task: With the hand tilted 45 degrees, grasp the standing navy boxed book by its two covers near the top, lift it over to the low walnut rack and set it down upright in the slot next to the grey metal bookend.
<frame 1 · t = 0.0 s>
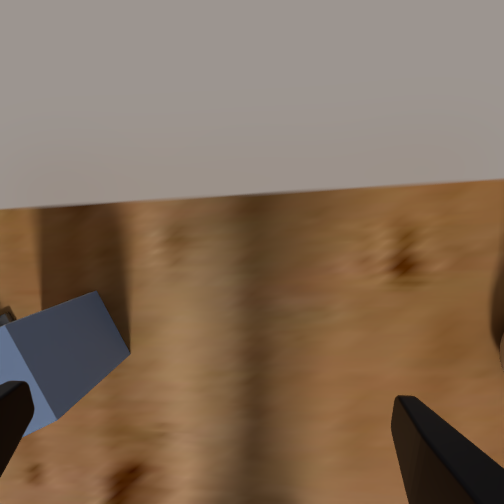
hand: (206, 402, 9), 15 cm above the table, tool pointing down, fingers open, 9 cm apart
book: (86, 336, 25), on the table
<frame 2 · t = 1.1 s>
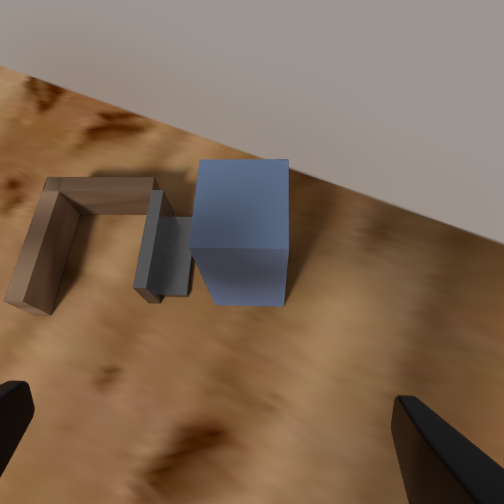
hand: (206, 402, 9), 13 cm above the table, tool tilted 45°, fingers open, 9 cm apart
bookend: (162, 255, 26), on the table
rack: (112, 255, 26), on the table
book: (251, 270, 25), on the table
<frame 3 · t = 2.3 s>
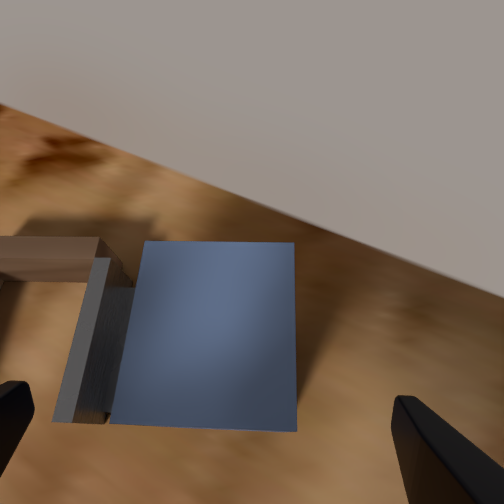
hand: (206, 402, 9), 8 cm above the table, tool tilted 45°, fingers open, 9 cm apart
bookend: (112, 346, 18), on the table
rack: (41, 344, 18), on the table
book: (237, 371, 17), on the table
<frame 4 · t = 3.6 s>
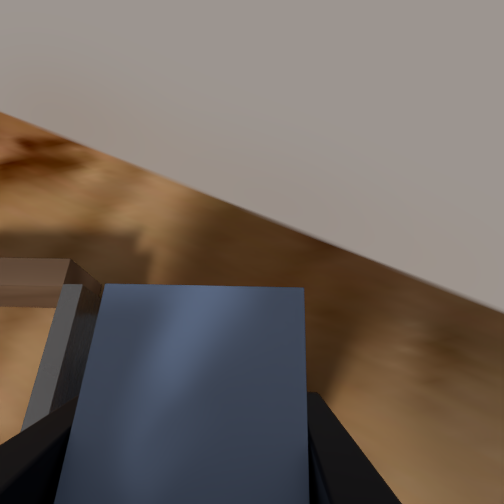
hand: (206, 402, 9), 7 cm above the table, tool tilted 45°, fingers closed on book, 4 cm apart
bookend: (86, 385, 15), on the table
rack: (5, 382, 16), on the table
book: (232, 417, 15), on the table, touching gripper
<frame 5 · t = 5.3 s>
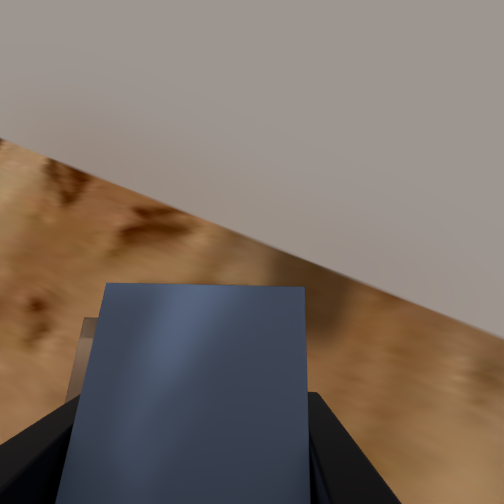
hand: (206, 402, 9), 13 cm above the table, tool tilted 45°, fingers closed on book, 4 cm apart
rack: (164, 408, 21), on the table
book: (233, 417, 15), point 7 cm above the table, touching gripper
when the fingers open (8 cm above the table, at t = 7.2 s): book drops 1 cm, on the table.
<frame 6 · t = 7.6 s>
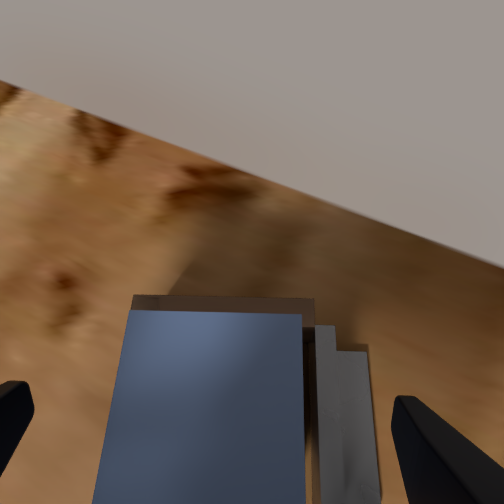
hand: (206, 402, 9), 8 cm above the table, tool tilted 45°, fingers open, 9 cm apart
bookend: (319, 422, 16), on the table
rack: (236, 418, 16), on the table
book: (237, 422, 16), on the table
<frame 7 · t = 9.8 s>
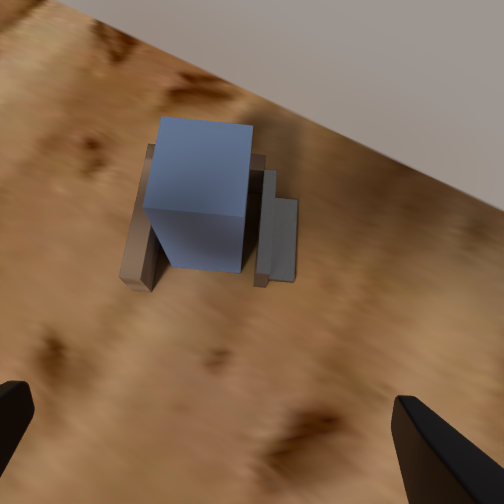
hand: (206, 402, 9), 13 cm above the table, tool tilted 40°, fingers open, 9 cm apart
bookend: (263, 237, 25), on the table
rack: (210, 232, 25), on the table
book: (210, 235, 25), on the table
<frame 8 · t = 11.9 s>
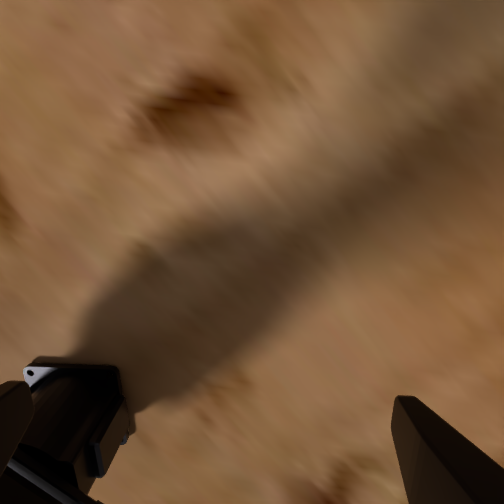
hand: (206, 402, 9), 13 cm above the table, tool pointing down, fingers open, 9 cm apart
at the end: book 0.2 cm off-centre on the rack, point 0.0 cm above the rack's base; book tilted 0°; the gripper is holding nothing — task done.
